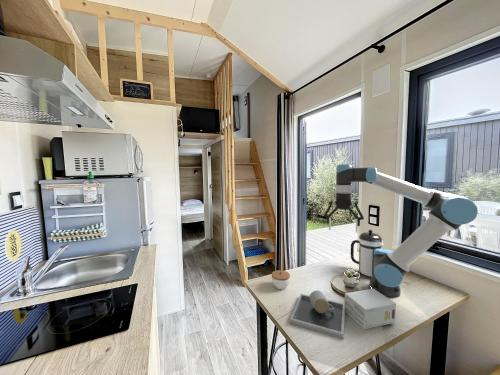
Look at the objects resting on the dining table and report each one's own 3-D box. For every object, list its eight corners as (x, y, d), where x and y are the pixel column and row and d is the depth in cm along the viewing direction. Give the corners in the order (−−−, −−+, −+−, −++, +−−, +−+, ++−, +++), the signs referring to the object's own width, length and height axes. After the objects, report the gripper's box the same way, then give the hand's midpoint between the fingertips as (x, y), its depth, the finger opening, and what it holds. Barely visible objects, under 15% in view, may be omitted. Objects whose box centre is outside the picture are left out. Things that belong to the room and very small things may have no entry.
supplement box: (364, 330, 92) (364, 309, 91) (343, 311, 104) (344, 292, 104) (396, 322, 96) (396, 302, 95) (372, 305, 108) (373, 287, 108)
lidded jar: (272, 281, 133) (272, 266, 133) (290, 283, 131) (290, 268, 130) (270, 290, 123) (270, 275, 122) (289, 292, 121) (289, 276, 120)
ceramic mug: (314, 314, 99) (315, 297, 100) (308, 305, 108) (309, 289, 108) (336, 315, 100) (337, 298, 100) (329, 306, 108) (330, 290, 108)
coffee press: (377, 270, 146) (378, 226, 144) (386, 281, 131) (388, 233, 129) (350, 268, 150) (350, 225, 148) (355, 279, 135) (356, 232, 133)
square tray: (345, 307, 107) (345, 303, 106) (343, 339, 87) (343, 334, 87) (300, 297, 116) (300, 293, 116) (290, 323, 96) (290, 319, 96)
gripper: (368, 192, 116) (367, 231, 117) (320, 191, 127) (320, 226, 128) (369, 193, 109) (368, 234, 111) (318, 192, 120) (318, 229, 121)
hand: (342, 230), depth 119 cm, fingers open, 13 cm apart
